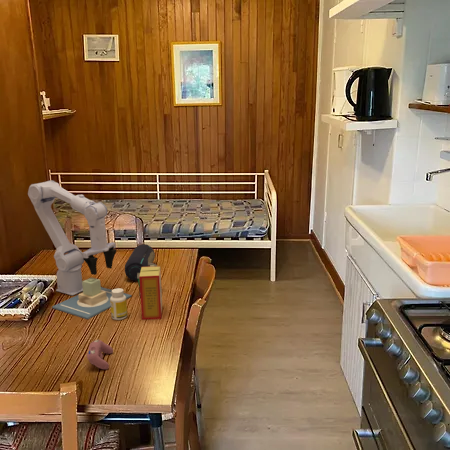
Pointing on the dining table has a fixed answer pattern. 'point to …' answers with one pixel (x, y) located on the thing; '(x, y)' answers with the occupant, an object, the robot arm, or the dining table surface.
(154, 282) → the baking soda box
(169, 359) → the dining table surface
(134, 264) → the portable speaker
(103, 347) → the video game controller
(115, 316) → the supplement bottle
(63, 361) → the dining table surface
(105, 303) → the board
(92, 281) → the sage block
